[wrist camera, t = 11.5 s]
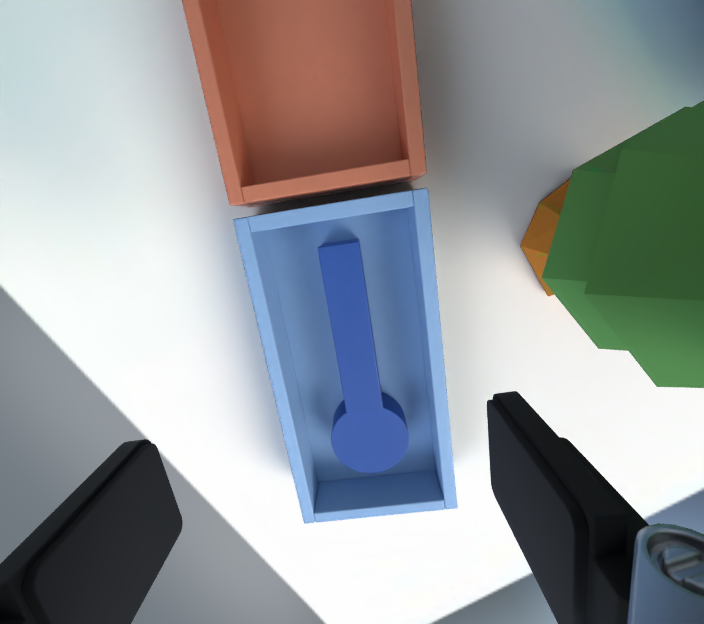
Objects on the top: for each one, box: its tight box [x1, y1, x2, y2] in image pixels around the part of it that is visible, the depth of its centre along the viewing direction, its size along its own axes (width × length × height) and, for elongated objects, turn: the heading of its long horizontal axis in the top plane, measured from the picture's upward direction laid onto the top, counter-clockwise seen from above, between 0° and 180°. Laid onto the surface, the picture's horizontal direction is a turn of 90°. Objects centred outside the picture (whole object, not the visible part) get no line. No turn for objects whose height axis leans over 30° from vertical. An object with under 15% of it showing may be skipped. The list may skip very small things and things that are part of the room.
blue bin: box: [234, 188, 457, 524], centre depth 19 cm, size 9×17×3 cm, turn 9°
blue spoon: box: [318, 238, 409, 473], centre depth 19 cm, size 4×13×2 cm, turn 9°
